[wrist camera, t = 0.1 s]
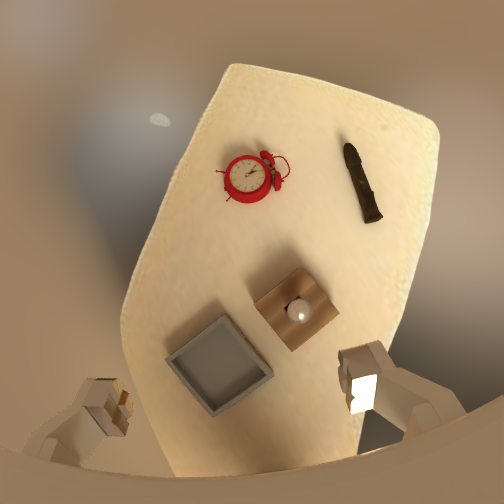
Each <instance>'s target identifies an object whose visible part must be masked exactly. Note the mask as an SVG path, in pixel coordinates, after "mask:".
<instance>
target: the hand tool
mask: <svg viewBox="0 0 504 504" xmlns="http://www.w3.org/2000/svg"><path fill="white" fill-rule="evenodd" d="M344 157H345V161H346V166H347V168H348V169H349V171H350V174H351V177H352V180H353V182H354V186H355V189H356V191H357V194H358V198H359V201H360V204H361V207H362V209H363V212H364V215H365V222H364V223H365V224H367V223H373V222H376V221H379V220H380V219H381V218H383V216H382V214H381V213H380V212H379V210H378V207H377V204H376V202H375V198H374V192H373V191H372V190H371V188H370V185H369V183H368V180H367V178H366V175H365V173H364V170H363V168H362V165H361V162H362V161H361V159H360V157H359V154H358V152H357V150H356V148H355V147H354V146H353V145H352V144H351V143H346V144H345V145H344Z"/></svg>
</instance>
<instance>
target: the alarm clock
mask: <svg viewBox="0 0 504 504" xmlns="http://www.w3.org/2000/svg"><path fill="white" fill-rule="evenodd" d="M272 155H273V154H270V153H269V152H267V151H265V150H263V151H261V152H260V156H261V158H262V159H263V160H264V159H268V160H269V161H270V164H269V165H270V166H269V165H268V166H269V167H273V166H274V164H275V160H274V158H276V157H281V158H283V159H284V160H285V161H286V163H287V165H288V168H289V173H290V167H289V164H288V162H287V160H286V159H285V158H284V157H282V156H275V157H272ZM268 166H267V165H266V164H265V163H264V162H263V161H262V160H261V159H259V158H258V157H255V156H251V155H245V156H240V157H238V158H236V159H234V160H233V161H232V162H231V163H230V164H229V166H228V167H227V170H226V172H223V171H217V170H216V172H221V173H226V174H225V178H224V184H225V187H224V189H225V191H227V192H228V194H229V195H230V197H229V198H228V199H227V200H226V201H228V200H229V199H230V198H231V197H232V198H233V199H235V200H236V201H238V202H241V203H254V202H257V201H259V200H261V199H263V198H264V197H265V196H266V195H267V194H268V192H269V191H270V188H271V185H272V175H271V172H270V171H271V170H275V168H273V169H271V170H269V168H268ZM289 173H288V174H287V175H286V176H285V177H287V176H288V175H289ZM285 177H283V178H282V179H284V178H285ZM282 179H281V174H280V173H279V172H277V171H275V191H278V190H280V188H281V183H282V182H284V180H282Z"/></svg>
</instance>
